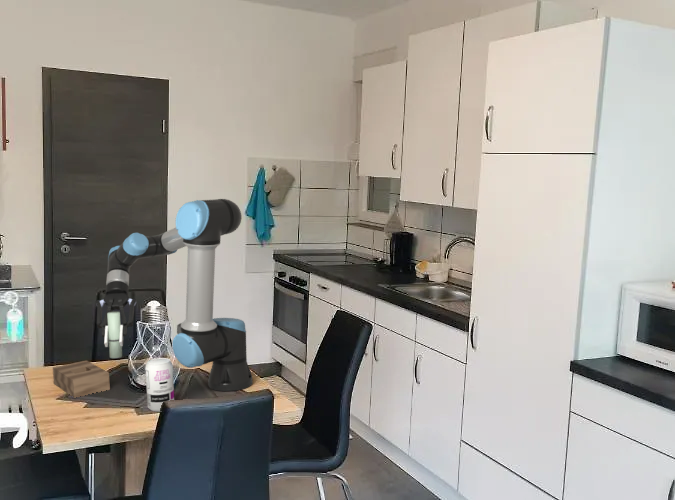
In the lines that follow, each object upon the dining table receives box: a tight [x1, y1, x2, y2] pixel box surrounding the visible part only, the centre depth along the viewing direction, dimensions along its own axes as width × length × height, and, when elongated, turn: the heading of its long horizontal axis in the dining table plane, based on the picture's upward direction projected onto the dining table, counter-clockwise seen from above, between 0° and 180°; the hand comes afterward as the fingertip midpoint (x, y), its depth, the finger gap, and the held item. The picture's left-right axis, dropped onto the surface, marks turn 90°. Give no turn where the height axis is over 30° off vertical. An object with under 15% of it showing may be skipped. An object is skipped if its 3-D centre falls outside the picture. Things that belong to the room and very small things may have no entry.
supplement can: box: [145, 357, 175, 412], centre depth 213 cm, size 8×8×15 cm
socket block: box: [52, 360, 111, 399], centre depth 235 cm, size 20×12×6 cm, turn 41°
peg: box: [107, 310, 123, 359], centre depth 227 cm, size 4×4×15 cm
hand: (113, 344), depth 223 cm, fingers closed on peg, 4 cm apart
